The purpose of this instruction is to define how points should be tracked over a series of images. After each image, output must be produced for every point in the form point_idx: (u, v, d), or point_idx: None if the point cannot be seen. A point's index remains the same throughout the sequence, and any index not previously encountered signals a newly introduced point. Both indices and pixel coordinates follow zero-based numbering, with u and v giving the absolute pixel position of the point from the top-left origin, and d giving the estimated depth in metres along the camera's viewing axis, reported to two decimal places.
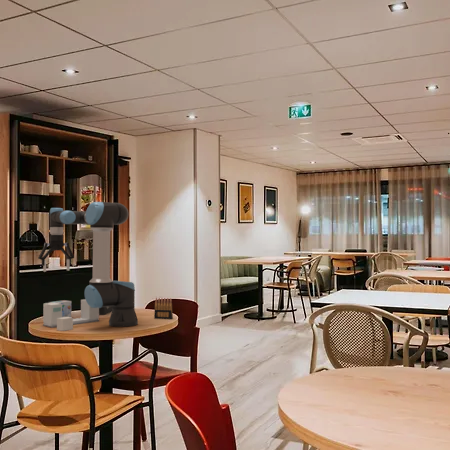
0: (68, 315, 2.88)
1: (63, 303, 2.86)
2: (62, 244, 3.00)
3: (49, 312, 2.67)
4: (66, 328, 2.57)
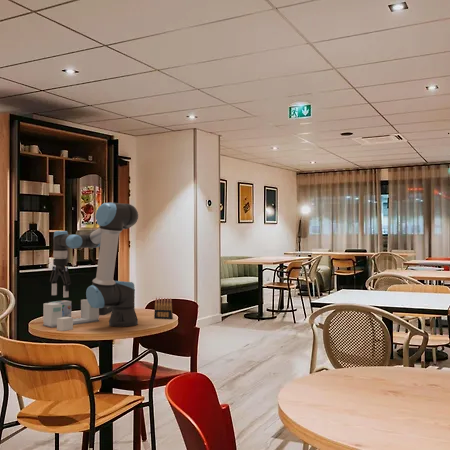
0: (68, 315, 2.88)
1: (63, 303, 2.86)
2: (61, 269, 2.85)
3: (49, 312, 2.67)
4: (66, 328, 2.57)
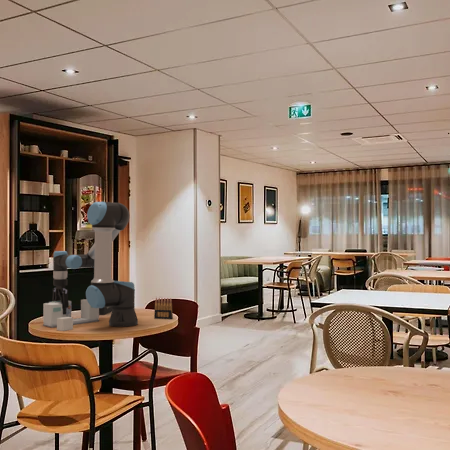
0: (68, 315, 2.88)
1: None
2: (61, 289, 2.85)
3: (49, 312, 2.67)
4: (66, 328, 2.57)
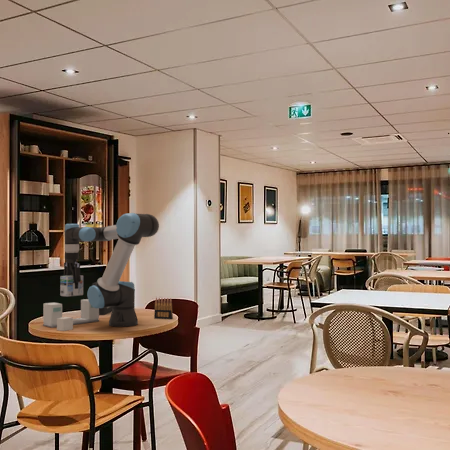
0: (80, 289, 2.79)
1: None
2: (72, 263, 2.76)
3: (49, 312, 2.67)
4: (66, 328, 2.57)
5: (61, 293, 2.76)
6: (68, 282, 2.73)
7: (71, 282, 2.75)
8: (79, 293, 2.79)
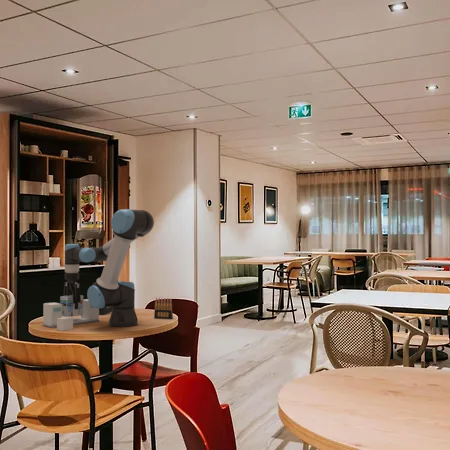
0: (80, 310, 2.79)
1: None
2: (72, 283, 2.76)
3: (49, 312, 2.67)
4: (66, 328, 2.57)
5: None
6: (68, 302, 2.73)
7: (70, 302, 2.74)
8: (79, 313, 2.78)
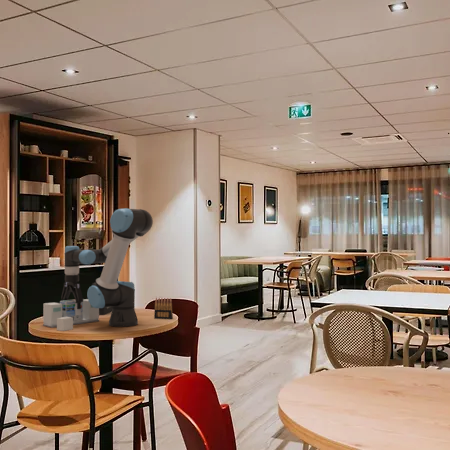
0: None
1: (74, 302, 2.77)
2: (72, 285, 2.76)
3: (49, 312, 2.67)
4: (66, 328, 2.57)
5: None
6: (67, 307, 2.73)
7: (70, 307, 2.74)
8: (78, 318, 2.78)
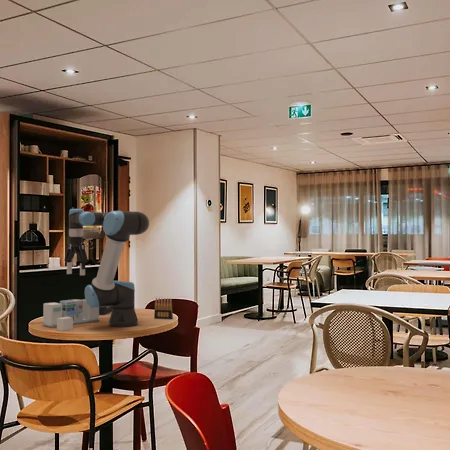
0: (79, 314, 2.79)
1: (74, 302, 2.77)
2: (77, 247, 2.84)
3: (49, 312, 2.67)
4: (66, 328, 2.57)
5: None
6: (67, 307, 2.73)
7: (70, 307, 2.74)
8: (78, 318, 2.78)
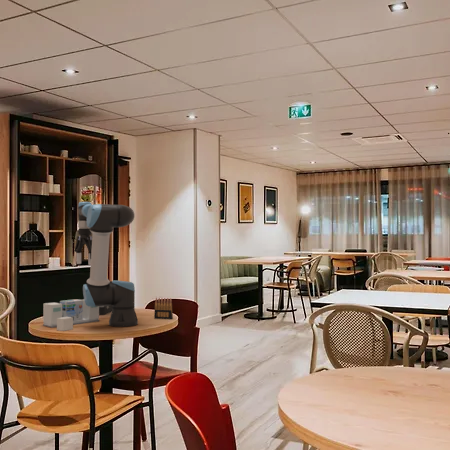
0: (79, 314, 2.79)
1: (74, 302, 2.77)
2: (85, 238, 3.00)
3: (49, 312, 2.67)
4: (66, 328, 2.57)
5: None
6: (67, 307, 2.73)
7: (70, 307, 2.74)
8: (78, 318, 2.78)
